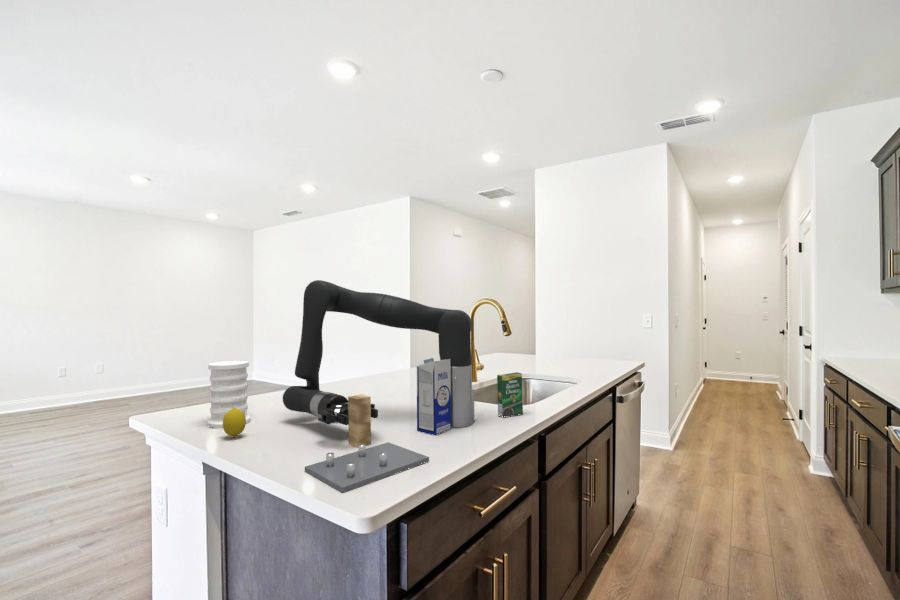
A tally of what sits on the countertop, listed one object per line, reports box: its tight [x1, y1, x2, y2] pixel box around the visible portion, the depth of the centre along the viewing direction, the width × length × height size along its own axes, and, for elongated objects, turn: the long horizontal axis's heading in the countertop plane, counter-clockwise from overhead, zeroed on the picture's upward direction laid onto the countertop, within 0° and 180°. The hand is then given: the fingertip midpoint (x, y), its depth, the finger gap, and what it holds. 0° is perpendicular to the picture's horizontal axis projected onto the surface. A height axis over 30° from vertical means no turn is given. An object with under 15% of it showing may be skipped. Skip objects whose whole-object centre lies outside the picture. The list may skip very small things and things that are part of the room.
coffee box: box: [496, 371, 524, 418], centre depth 136 cm, size 8×3×13 cm, turn 118°
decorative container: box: [206, 360, 252, 429], centre depth 130 cm, size 12×12×18 cm
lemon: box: [223, 408, 247, 439], centre depth 116 cm, size 6×6×8 cm
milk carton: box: [416, 357, 452, 436], centre depth 121 cm, size 7×7×20 cm
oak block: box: [347, 394, 372, 449], centre depth 109 cm, size 4×4×12 cm
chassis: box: [304, 442, 430, 494], centre depth 95 cm, size 22×15×4 cm
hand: (362, 417), depth 108 cm, fingers open, 8 cm apart
